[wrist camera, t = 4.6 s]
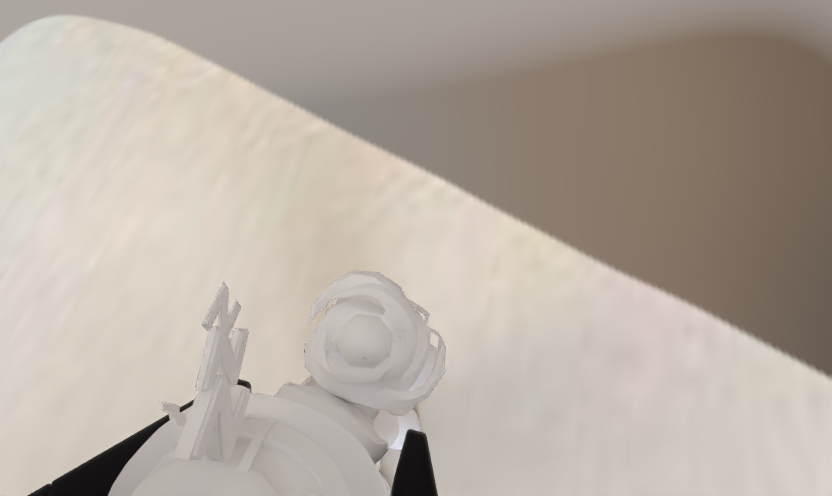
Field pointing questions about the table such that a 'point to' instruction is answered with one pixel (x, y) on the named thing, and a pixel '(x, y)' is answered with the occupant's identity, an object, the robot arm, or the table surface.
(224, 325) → the hat wearing toy figure
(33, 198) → the table surface
